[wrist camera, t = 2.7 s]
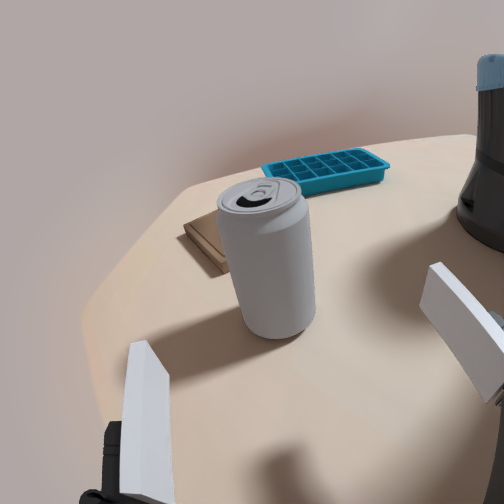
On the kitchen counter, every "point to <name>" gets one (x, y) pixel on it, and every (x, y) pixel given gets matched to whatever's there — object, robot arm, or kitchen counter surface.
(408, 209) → the kitchen counter surface
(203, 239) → the walnut block
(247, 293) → the beverage can
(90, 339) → the kitchen counter surface
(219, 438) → the kitchen counter surface
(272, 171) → the ice cube tray
